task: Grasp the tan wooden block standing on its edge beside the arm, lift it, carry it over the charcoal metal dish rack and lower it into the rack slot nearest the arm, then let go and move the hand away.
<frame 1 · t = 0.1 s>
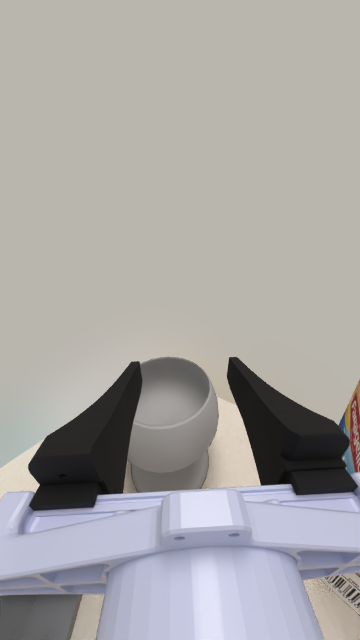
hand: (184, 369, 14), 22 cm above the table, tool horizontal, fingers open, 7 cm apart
beverage box: (351, 540, 19), on the table
chalice: (170, 457, 27), on the table
dish rack: (60, 552, 19), on the table
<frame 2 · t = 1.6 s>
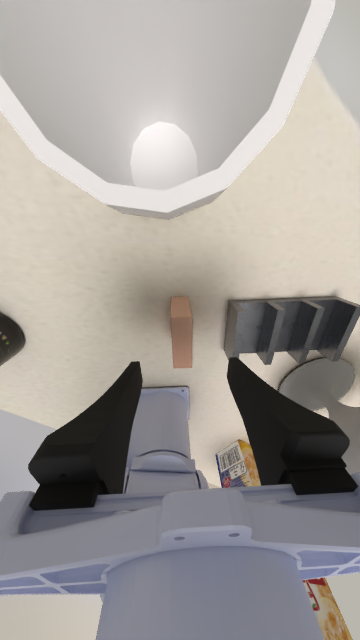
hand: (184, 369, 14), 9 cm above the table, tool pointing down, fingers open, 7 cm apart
foam cup: (164, 172, 16), on the table
beverage box: (243, 454, 37), on the table
chalice: (312, 384, 28), on the table
tan wooden block: (180, 318, 22), on the table
dish rack: (276, 324, 23), on the table
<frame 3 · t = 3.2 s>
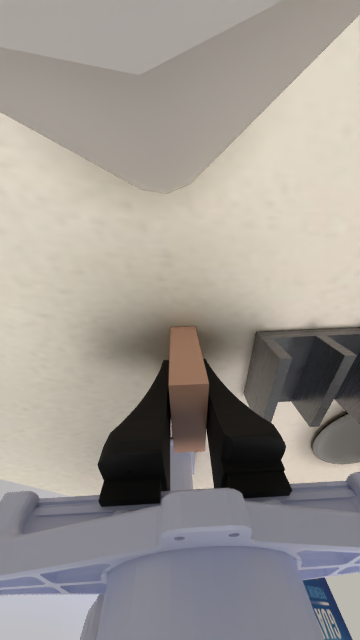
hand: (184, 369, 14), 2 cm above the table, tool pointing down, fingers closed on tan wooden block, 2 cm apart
foam cup: (158, 118, 9), on the table
beverage box: (259, 504, 30), on the table
chalice: (358, 432, 21), on the table
tan wooden block: (183, 356, 15), on the table, touching gripper
dish rack: (321, 363, 16), on the table
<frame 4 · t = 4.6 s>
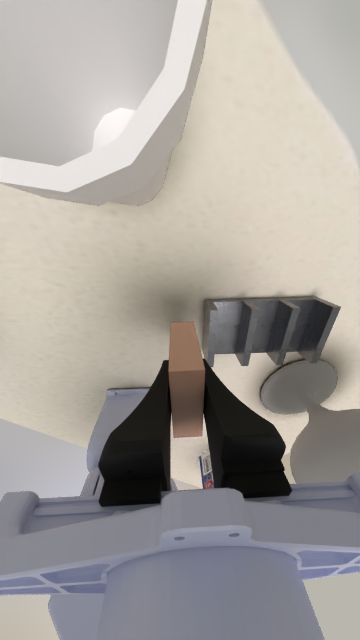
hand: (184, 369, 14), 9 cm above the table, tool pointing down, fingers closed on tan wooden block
foam cup: (131, 163, 15), on the table
beverage box: (227, 456, 37), on the table
chalice: (295, 386, 28), on the table
tan wooden block: (182, 350, 16), point 6 cm above the table, touching gripper
dish rack: (255, 325, 22), on the table
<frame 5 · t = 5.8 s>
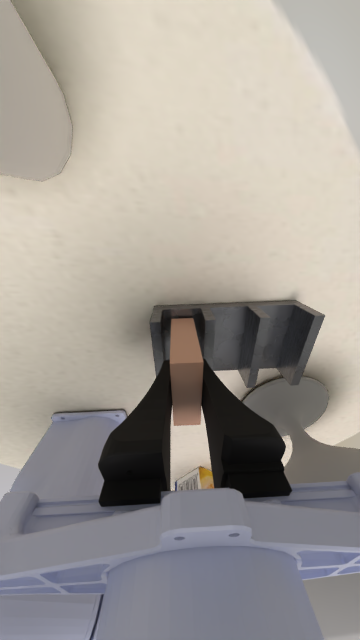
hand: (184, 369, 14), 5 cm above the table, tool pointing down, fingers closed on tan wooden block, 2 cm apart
foam cup: (21, 119, 11), on the table
beverage box: (208, 481, 32), on the table
chalice: (279, 405, 23), on the table
tan wooden block: (182, 345, 17), point 1 cm above the table, touching gripper
dish rack: (222, 336, 18), on the table
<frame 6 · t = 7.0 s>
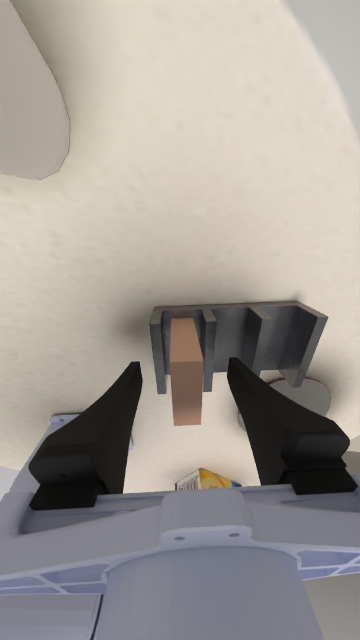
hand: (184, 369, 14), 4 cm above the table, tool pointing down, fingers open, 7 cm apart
foam cup: (17, 115, 10), on the table
beverage box: (208, 482, 32), on the table
chalice: (280, 407, 23), on the table
tan wooden block: (182, 345, 17), point 1 cm above the table, touching dish rack
dish rack: (223, 337, 18), on the table
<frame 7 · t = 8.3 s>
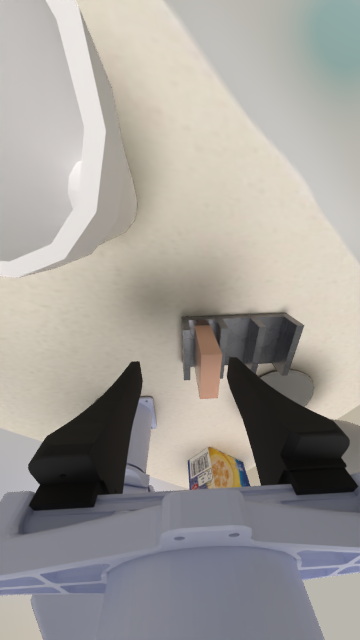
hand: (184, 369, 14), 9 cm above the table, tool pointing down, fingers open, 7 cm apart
foam cup: (105, 200, 16), on the table
beverage box: (215, 460, 38), on the table
chalice: (274, 394, 29), on the table
tan wooden block: (201, 345, 23), point 1 cm above the table, touching dish rack
dish rack: (230, 339, 24), on the table
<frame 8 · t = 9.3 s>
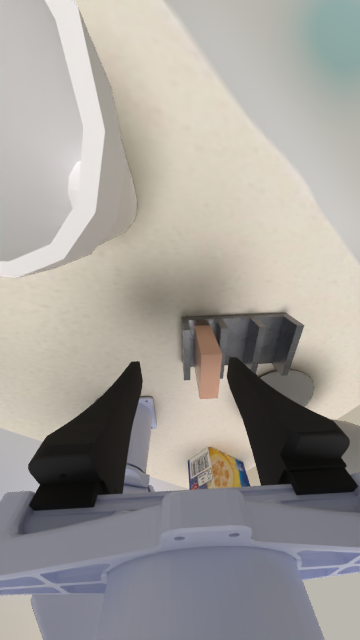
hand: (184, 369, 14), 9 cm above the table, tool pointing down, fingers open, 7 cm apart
foam cup: (105, 200, 16), on the table
beverage box: (215, 460, 38), on the table
chalice: (274, 394, 29), on the table
tan wooden block: (201, 345, 23), point 1 cm above the table, touching dish rack
dish rack: (230, 339, 24), on the table
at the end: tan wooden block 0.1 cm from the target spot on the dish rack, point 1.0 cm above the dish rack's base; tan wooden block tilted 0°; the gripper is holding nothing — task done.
